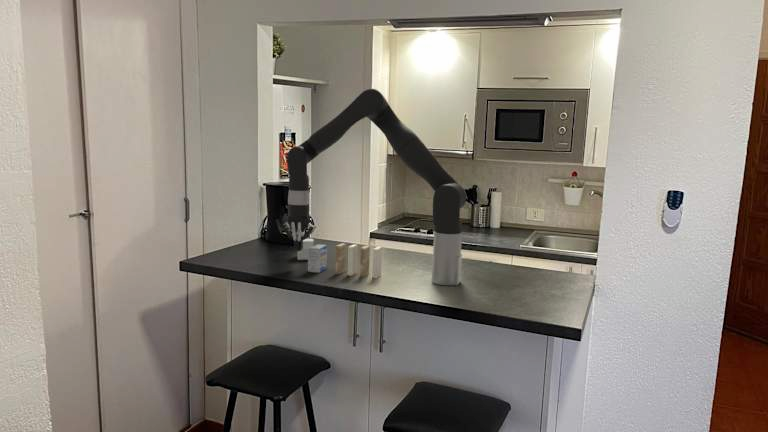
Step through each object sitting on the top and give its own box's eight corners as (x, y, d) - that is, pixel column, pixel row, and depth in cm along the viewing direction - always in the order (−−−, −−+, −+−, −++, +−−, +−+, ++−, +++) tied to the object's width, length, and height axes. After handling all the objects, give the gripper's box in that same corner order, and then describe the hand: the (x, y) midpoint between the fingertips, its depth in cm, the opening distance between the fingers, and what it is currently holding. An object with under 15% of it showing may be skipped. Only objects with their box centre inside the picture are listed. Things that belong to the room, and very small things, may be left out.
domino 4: (381, 275, 205) (382, 246, 203) (376, 278, 200) (377, 249, 199) (376, 274, 205) (377, 246, 204) (372, 277, 200) (373, 249, 199)
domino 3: (368, 273, 206) (369, 245, 205) (364, 277, 201) (365, 248, 200) (364, 273, 206) (365, 245, 205) (359, 276, 202) (360, 247, 200)
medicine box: (319, 273, 205) (320, 248, 203) (307, 272, 206) (308, 247, 204) (327, 268, 212) (327, 244, 211) (315, 267, 213) (315, 243, 212)
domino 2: (356, 272, 207) (357, 244, 206) (351, 275, 203) (352, 247, 201) (352, 272, 208) (353, 244, 206) (347, 275, 203) (348, 246, 202)
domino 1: (344, 271, 209) (345, 243, 207) (339, 274, 204) (340, 246, 202) (340, 270, 209) (341, 243, 208) (335, 273, 204) (336, 245, 203)
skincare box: (313, 260, 225) (313, 241, 224) (297, 260, 224) (297, 241, 223) (312, 256, 231) (313, 238, 230) (297, 256, 230) (297, 238, 229)
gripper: (320, 202, 209) (319, 250, 212) (286, 200, 213) (286, 247, 216) (311, 205, 202) (311, 254, 205) (277, 202, 206) (276, 251, 209)
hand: (298, 250), depth 210 cm, fingers closed
